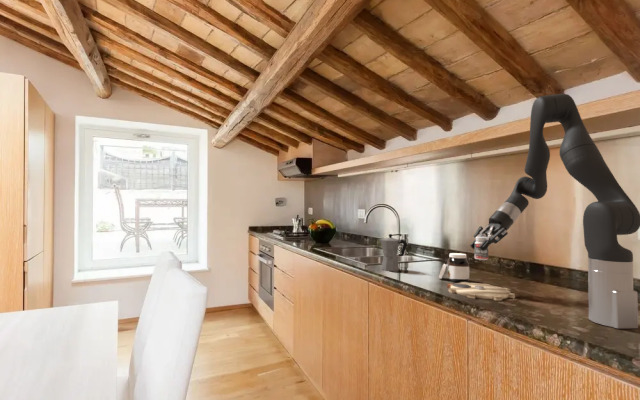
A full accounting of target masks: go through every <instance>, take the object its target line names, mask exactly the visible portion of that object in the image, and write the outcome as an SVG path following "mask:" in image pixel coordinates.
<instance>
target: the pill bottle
mask: <svg viewBox="0 0 640 400" xmlns="http://www.w3.org/2000/svg"><path fill="white" fill-rule="evenodd" d="M486 238H487V237H476V242H475V249H474V259H475V260H480V261H481V260H482V261H487V260H489V246H488V247H487V248H486V249H485V251H482V250H481V249H480V248H479V246H480V245H481V244H482V243H483V242H484V241H485V240H486Z"/></svg>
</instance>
